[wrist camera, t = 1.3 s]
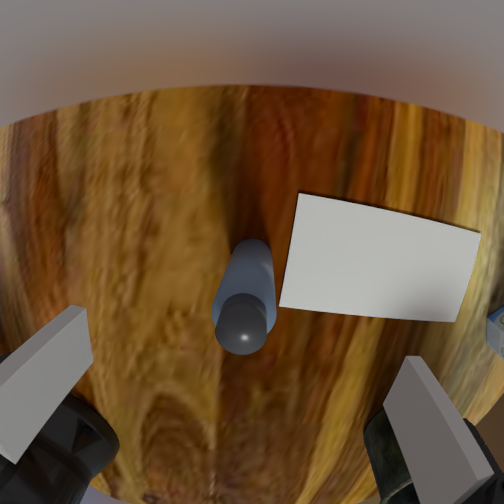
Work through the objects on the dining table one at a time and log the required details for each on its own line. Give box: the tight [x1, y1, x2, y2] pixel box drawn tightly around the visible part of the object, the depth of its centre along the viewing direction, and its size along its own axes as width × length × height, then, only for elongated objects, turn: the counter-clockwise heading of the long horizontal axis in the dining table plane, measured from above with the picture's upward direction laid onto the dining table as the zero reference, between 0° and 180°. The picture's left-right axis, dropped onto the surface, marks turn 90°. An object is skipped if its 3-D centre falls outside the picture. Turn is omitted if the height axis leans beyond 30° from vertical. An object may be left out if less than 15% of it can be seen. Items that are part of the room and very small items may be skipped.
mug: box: [364, 409, 420, 504], centre depth 24 cm, size 11×15×12 cm
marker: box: [212, 238, 276, 355], centre depth 19 cm, size 3×3×12 cm
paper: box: [279, 193, 481, 322], centre depth 25 cm, size 20×10×1 cm, turn 82°
